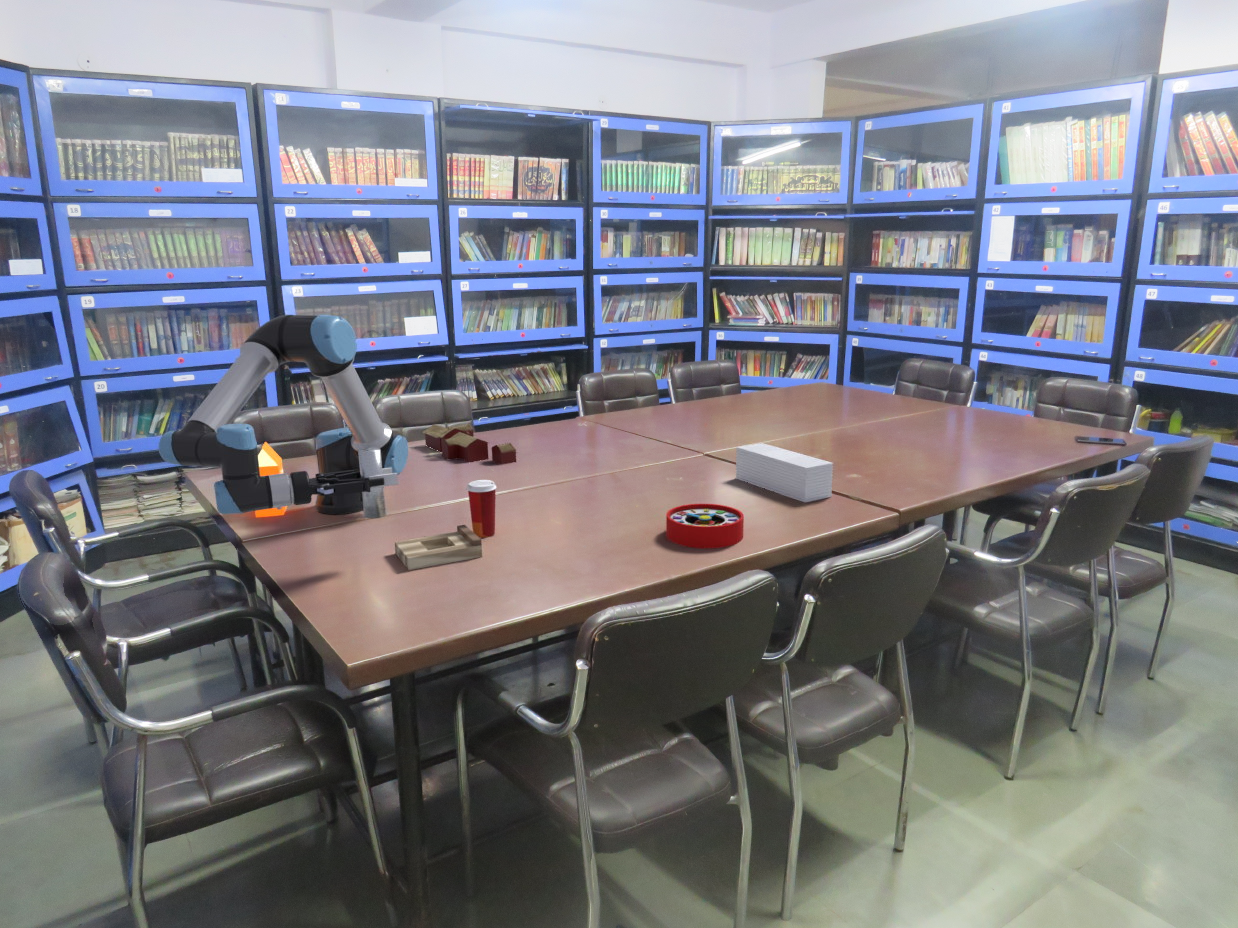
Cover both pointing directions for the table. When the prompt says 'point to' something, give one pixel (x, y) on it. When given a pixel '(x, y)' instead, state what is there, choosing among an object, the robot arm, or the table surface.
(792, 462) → the stack of papers
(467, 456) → the toy houses
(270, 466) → the orange juice
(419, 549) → the frame
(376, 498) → the brushed metal cylinder
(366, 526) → the table surface
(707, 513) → the toy clock
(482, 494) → the paper cup
